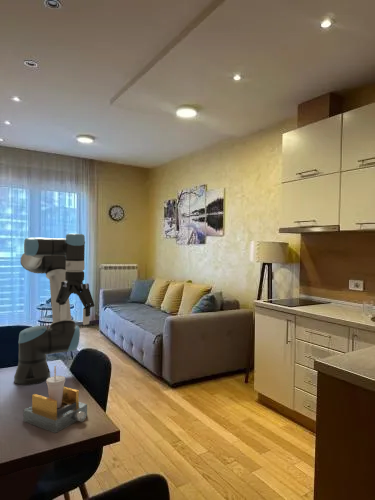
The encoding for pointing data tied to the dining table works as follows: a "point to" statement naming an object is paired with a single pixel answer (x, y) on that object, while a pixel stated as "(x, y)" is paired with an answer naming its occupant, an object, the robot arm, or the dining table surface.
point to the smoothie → (56, 387)
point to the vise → (55, 411)
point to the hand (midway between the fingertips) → (74, 322)
